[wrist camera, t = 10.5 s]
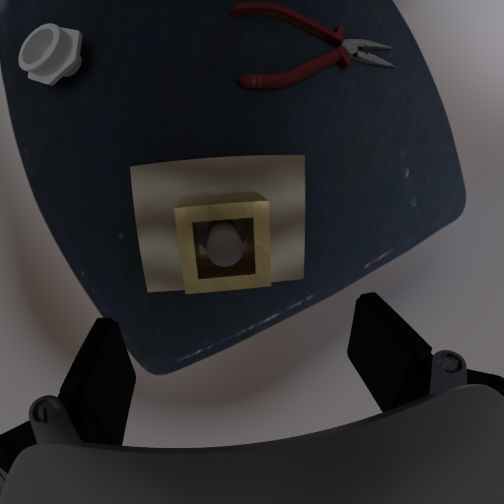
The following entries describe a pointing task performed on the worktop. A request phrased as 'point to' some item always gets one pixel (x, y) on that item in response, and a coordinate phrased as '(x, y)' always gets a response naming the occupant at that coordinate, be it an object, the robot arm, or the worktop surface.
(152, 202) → the post stand
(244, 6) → the pliers
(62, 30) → the pipe fitting
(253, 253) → the hollow wooden cube
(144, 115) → the worktop surface
